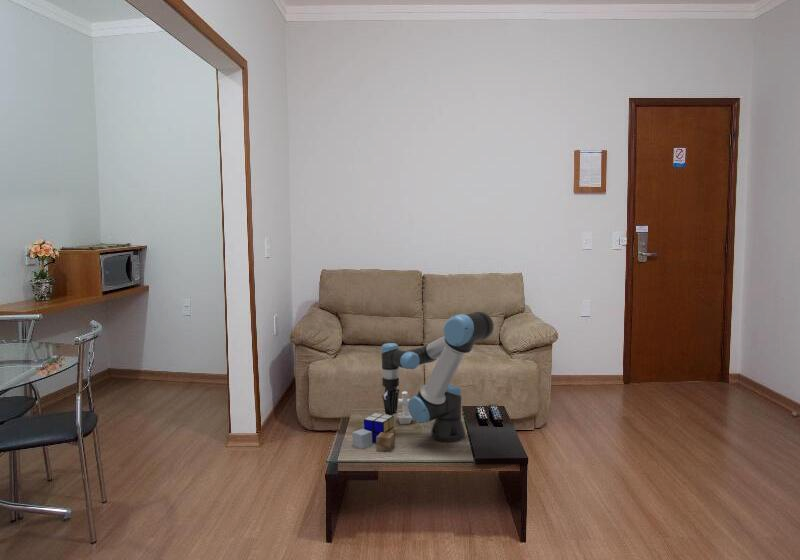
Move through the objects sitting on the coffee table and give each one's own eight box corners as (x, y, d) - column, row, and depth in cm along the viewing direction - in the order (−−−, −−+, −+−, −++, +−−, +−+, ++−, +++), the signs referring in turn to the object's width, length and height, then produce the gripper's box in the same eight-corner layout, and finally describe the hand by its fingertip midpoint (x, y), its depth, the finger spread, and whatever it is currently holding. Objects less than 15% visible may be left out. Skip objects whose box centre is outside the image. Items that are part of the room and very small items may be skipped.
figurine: (415, 425, 274) (414, 394, 273) (395, 425, 274) (394, 394, 273) (414, 420, 281) (414, 389, 280) (395, 420, 281) (395, 390, 280)
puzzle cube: (363, 441, 254) (363, 419, 253) (375, 434, 263) (374, 412, 262) (383, 444, 250) (383, 422, 249) (394, 437, 259) (394, 415, 258)
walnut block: (394, 447, 247) (394, 433, 246) (390, 452, 241) (389, 438, 241) (381, 445, 249) (381, 432, 248) (376, 450, 243) (376, 436, 243)
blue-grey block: (372, 445, 250) (371, 431, 249) (362, 449, 245) (361, 435, 245) (362, 441, 254) (362, 428, 253) (352, 445, 249) (352, 432, 249)
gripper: (389, 373, 271) (391, 422, 273) (376, 380, 260) (377, 431, 261) (404, 374, 268) (405, 424, 270) (391, 381, 256) (392, 433, 258)
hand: (391, 427), depth 266 cm, fingers closed
